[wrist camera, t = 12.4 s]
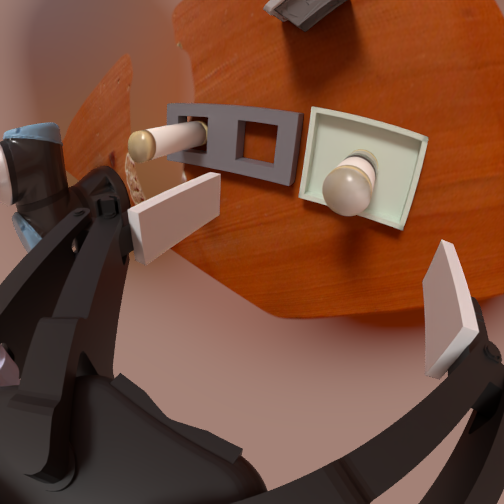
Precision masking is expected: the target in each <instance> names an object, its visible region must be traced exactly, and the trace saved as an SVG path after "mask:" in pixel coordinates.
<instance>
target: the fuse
mask: <svg viewBox="0 0 504 504" xmlns="http://www.w3.org/2000/svg"><path fill="white" fill-rule="evenodd" d="M207 133H208V123H207V122H205V121H202V120H199V121H192V122H185V123H179V124H173V125H167V126H163V127H157V128H152V129H147V130H142V131H137V132H134V133H132V134H131V136H130V138H129V141H128V150H129V154H130V156H131V158H132V159H133V160H134V161H135V162H137V163H143V162H146V161H149V160H152V159H155V158H158V157H162V156H165V155H168V154H172V153H175V152H179V151H182V150H186V149H189V148H193V147H197V146H201V145H205V144H206V143H207Z"/></svg>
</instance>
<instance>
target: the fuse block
mask: <svg viewBox="0 0 504 504" xmlns="http://www.w3.org/2000/svg"><path fill="white" fill-rule="evenodd" d="M187 116H198V117H208V133H207V151H203V150H196V149H186V150H182V151H179V152H175V153H172V154H168V155H167V160H170V161H176V162H182V163H187V164H192V165H198V166H203V167H208V168H213V169H218V170H223V171H227V172H232V173H237V174H241V175H246V176H250V177H254V178H259V179H263V180H267V181H271V182H275V183H279V184H283V185H287V186H290V185H291V184H293V183H294V182H295V176H296V169H297V162H298V155H299V147H300V140H301V132H302V125H303V117H304V114H303V113H297V112H291V111H284V110H277V109H269V108H260V107H251V106H240V105H226V104H205V103H172V104H167V125H173V124H179V123H185V122H187ZM246 121H252V122H259V123H266V124H273V125H278V132H277V141H276V150H275V159H274V164H273V163H268V162H263V161H259V160H254V159H249V158H243V149H244V136H245V123H246Z"/></svg>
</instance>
